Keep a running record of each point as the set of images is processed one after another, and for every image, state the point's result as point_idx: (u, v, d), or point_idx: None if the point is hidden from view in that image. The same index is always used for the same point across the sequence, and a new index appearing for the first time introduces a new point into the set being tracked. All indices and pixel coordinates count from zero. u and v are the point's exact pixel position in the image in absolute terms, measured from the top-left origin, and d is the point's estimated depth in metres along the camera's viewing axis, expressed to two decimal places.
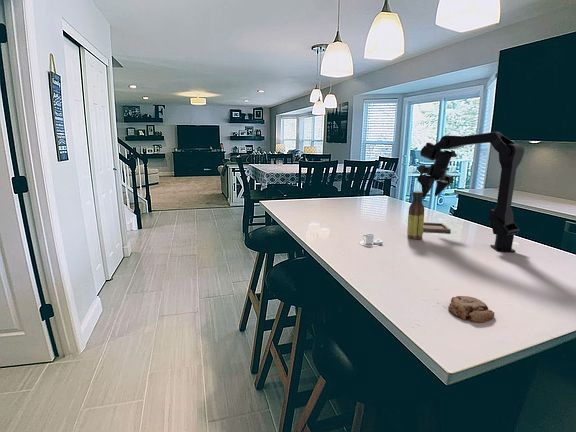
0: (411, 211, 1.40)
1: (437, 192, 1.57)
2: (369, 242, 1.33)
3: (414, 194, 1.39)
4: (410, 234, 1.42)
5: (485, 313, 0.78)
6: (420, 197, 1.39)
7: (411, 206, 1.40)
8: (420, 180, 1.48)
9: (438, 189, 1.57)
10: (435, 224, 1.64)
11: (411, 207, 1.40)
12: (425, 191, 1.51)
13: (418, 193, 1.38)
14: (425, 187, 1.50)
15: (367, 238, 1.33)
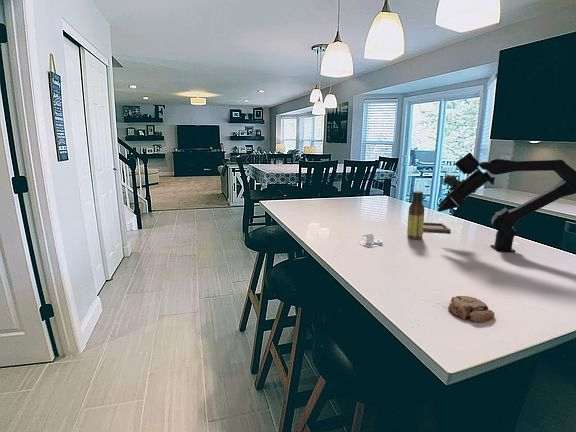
0: (411, 211, 1.40)
1: None
2: (369, 242, 1.33)
3: (414, 194, 1.39)
4: (410, 234, 1.42)
5: (485, 313, 0.78)
6: (420, 197, 1.39)
7: (411, 206, 1.40)
8: (454, 197, 1.26)
9: (445, 202, 1.41)
10: (435, 224, 1.64)
11: (411, 207, 1.40)
12: (446, 207, 1.31)
13: (418, 193, 1.38)
14: (449, 203, 1.31)
15: (367, 238, 1.33)
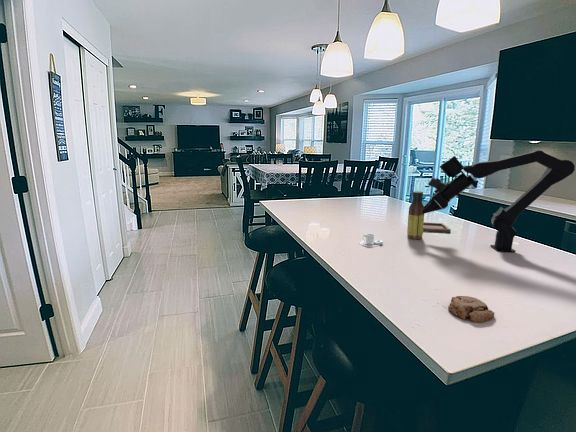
0: (411, 211, 1.40)
1: None
2: (369, 242, 1.33)
3: (414, 194, 1.39)
4: (410, 234, 1.42)
5: (485, 313, 0.78)
6: (420, 197, 1.39)
7: (411, 206, 1.40)
8: (437, 200, 1.29)
9: (430, 204, 1.43)
10: (435, 224, 1.64)
11: (411, 207, 1.40)
12: (431, 209, 1.34)
13: (418, 193, 1.38)
14: (433, 206, 1.33)
15: (367, 238, 1.33)
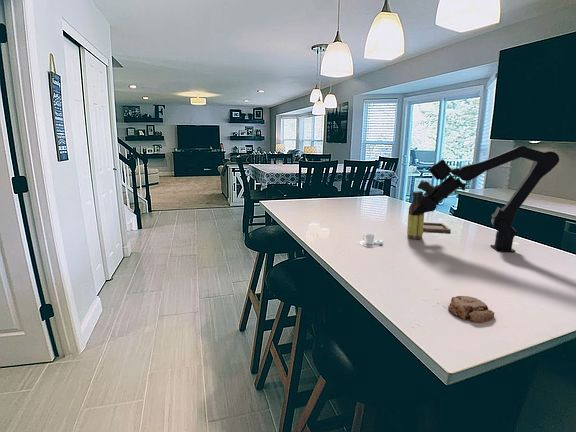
0: (411, 211, 1.40)
1: None
2: (369, 242, 1.33)
3: (414, 194, 1.39)
4: (410, 234, 1.42)
5: (485, 313, 0.78)
6: (420, 197, 1.39)
7: (411, 206, 1.40)
8: (426, 203, 1.31)
9: None
10: (435, 224, 1.64)
11: (411, 207, 1.40)
12: (420, 211, 1.37)
13: (418, 193, 1.38)
14: (422, 208, 1.36)
15: (367, 238, 1.33)
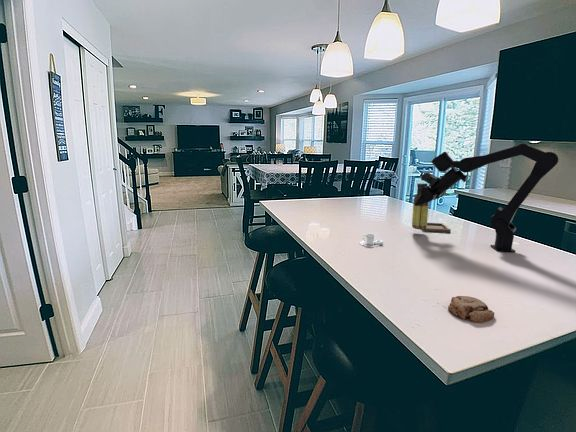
0: (415, 202, 1.47)
1: None
2: (369, 242, 1.33)
3: (418, 185, 1.46)
4: (413, 224, 1.49)
5: (485, 313, 0.78)
6: None
7: (415, 197, 1.48)
8: (424, 193, 1.37)
9: None
10: (435, 224, 1.64)
11: (415, 198, 1.47)
12: (422, 202, 1.43)
13: (421, 185, 1.45)
14: (424, 198, 1.43)
15: (367, 238, 1.33)
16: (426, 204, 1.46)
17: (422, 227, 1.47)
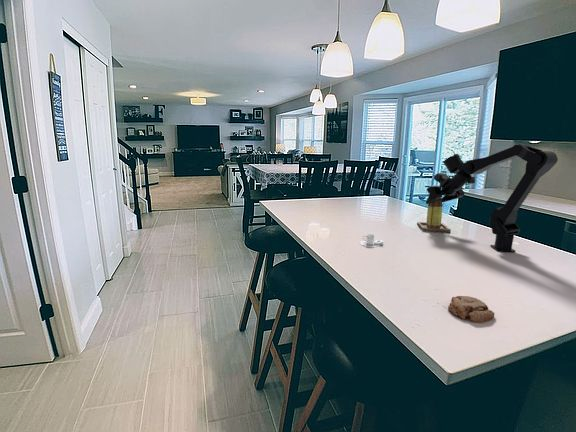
0: None
1: (443, 200, 1.59)
2: (370, 242, 1.33)
3: None
4: (427, 223, 1.59)
5: (485, 313, 0.78)
6: None
7: None
8: (429, 191, 1.48)
9: (445, 198, 1.58)
10: None
11: None
12: (430, 200, 1.53)
13: None
14: (431, 197, 1.52)
15: (368, 238, 1.33)
16: (438, 205, 1.54)
17: (434, 227, 1.56)
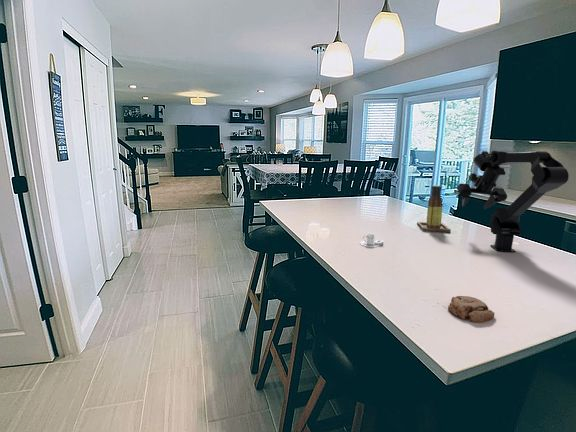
0: (428, 202, 1.57)
1: (486, 205, 1.47)
2: (370, 242, 1.33)
3: None
4: (427, 223, 1.59)
5: (485, 313, 0.78)
6: (436, 190, 1.54)
7: (429, 198, 1.58)
8: (458, 188, 1.45)
9: (487, 203, 1.47)
10: None
11: (429, 199, 1.57)
12: (463, 201, 1.46)
13: (434, 187, 1.54)
14: None
15: (368, 238, 1.33)
16: (438, 205, 1.54)
17: (434, 227, 1.56)
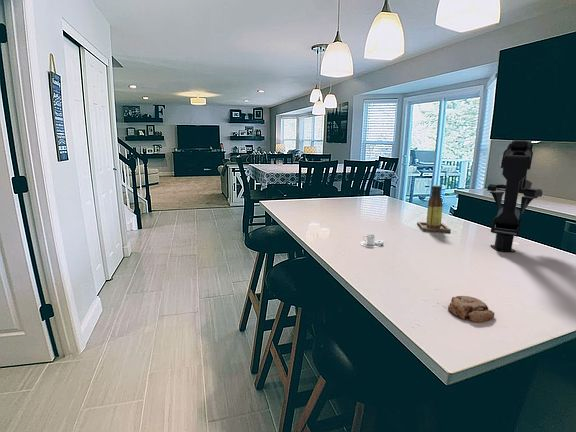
0: (428, 202, 1.57)
1: None
2: (370, 243, 1.33)
3: (432, 187, 1.56)
4: (427, 223, 1.59)
5: (484, 313, 0.78)
6: (436, 190, 1.54)
7: (429, 198, 1.58)
8: None
9: None
10: None
11: (429, 199, 1.57)
12: None
13: (434, 187, 1.54)
14: None
15: (368, 239, 1.33)
16: (438, 205, 1.54)
17: (434, 227, 1.56)
